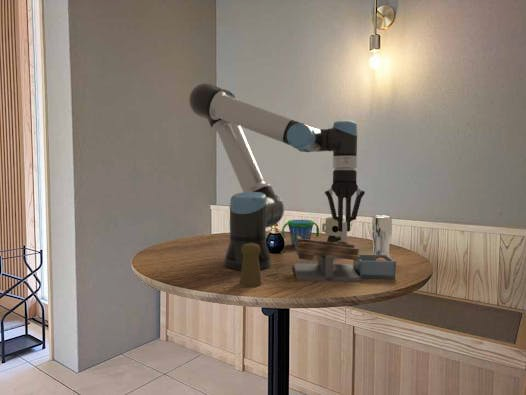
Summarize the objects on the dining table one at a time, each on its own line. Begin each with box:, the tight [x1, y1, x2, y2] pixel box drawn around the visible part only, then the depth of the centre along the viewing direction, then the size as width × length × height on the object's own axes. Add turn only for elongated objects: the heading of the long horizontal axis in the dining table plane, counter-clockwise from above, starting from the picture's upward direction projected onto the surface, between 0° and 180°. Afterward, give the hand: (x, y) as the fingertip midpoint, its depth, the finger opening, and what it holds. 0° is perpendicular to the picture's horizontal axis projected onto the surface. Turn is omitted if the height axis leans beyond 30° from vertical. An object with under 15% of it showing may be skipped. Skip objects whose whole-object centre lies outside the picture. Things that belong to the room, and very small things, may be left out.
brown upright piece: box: [239, 243, 262, 287], centre depth 108 cm, size 6×6×11 cm
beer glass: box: [371, 215, 393, 258], centre depth 141 cm, size 7×7×15 cm
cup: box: [352, 253, 397, 280], centre depth 119 cm, size 10×9×5 cm
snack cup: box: [281, 219, 320, 247], centre depth 163 cm, size 16×10×10 cm
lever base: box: [293, 255, 362, 282], centre depth 119 cm, size 18×16×7 cm
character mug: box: [321, 216, 345, 242], centre depth 151 cm, size 11×7×13 cm, turn 111°
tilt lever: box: [294, 236, 360, 261], centre depth 123 cm, size 18×20×6 cm
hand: (343, 241), depth 130 cm, fingers closed
